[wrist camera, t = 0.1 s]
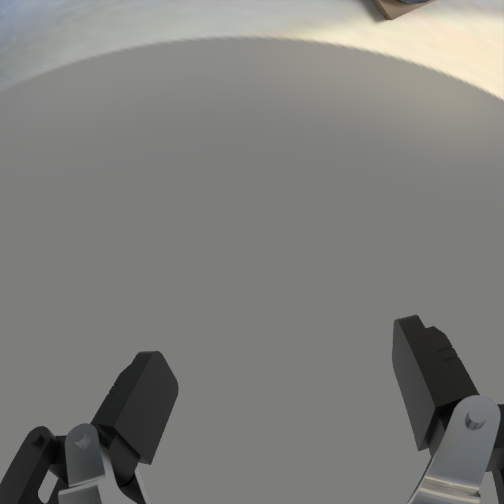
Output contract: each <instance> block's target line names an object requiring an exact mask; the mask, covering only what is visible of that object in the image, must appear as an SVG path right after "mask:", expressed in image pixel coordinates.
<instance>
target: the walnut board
mask: <svg viewBox="0 0 504 504" xmlns="http://www.w3.org/2000/svg"><path fill="white" fill-rule="evenodd" d="M373 1H374V3H375V4H376V5H377V7H378V8H379V9H380V11H381V12H382V14H383V15H384V16H385V18H386V19H387V20H393V19H395V18H397V17H399V16H402V15H404V14H406V13H408V12H410V11H412V10H415V9H417V8H419V7H421V6H424V5H426V4H428V3H431V2H433V1H436V0H430V1H428V2H425V3H420V4H407V3H402V2H399V1H396V0H373Z"/></svg>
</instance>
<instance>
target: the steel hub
mask: <svg viewBox="0 0 504 504" xmlns="http://www.w3.org/2000/svg"><path fill="white" fill-rule="evenodd" d="M396 1H399V2H402V3H407V4H420V3H425V2H428V1H430V0H396Z"/></svg>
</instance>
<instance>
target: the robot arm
mask: <svg viewBox="0 0 504 504" xmlns="http://www.w3.org/2000/svg"><path fill="white" fill-rule="evenodd" d="M392 362H393V368H394V372H395V375H396V378H397V381H398V384H399V387H400V390H401V393H402V396H403V399H404V402H405V406H406V409H407V412H408V415H409V419H410V423H411V426H412V430H413V433H414V437H415V441H416V444H417V448H418V451H421V450H424V449H427V448H429V451H430V455H431V458H430V460H429V462H428V464H427V467H426V468H425V470H424V472H423V474H422V476H421V478H420V480H419V482H418V484H417V485H416V487H415V489H414V490H413V492H412V494H411V496H410V497H409V499H408V501H407V502H406V504H479V502H480V494H479V487H480V484H481V482H482V479H483V476H484V474H485V472H489V471H492V473H493V478H494V481H495V486H496V491H497V496H498V501H499V504H504V404H502V405H499V404H496V403H495V402H494V401H493V400H492V399H490V398H488V397H486V396H482V395H480V394H479V393H478V392H477V390H476V388H475V386H474V384H473V382H472V380H471V378H470V376H469V374H468V373H467V371H466V369H465V367H464V365H463V364H462V362H461V360H460V358H458V356H457V353H456V351H455V350H454V348H452V345H451V343H450V341H449V340H448V338H447V336H446V335H445V334H444V333H443V332H441V331H440V330H438V329H437V328H435V327H434V326H433V327H429V328H425V327H424V325H423V323H422V322H421V320H420V318H419V316H417V315H413V316H409V317H405V318H401V319H396V320H395V321H394V331H393V350H392ZM177 395H178V383H177V380H176V378H175V376H174V375H173V373H172V371H171V369H170V368H169V366H168V364H167V362H166V360H165V359H164V357H163V355H162V354H161V353H160V352H159V351H148V352H146V351H145V352H139V353H138V354H137V355H136V357H135V359H134V360H133V362H132V364H131V365H129V366H128V367H127V368H126V369H125V370H124V371H123V372H121V374H120V375H119V376H118V378H117V380H116V381H115V383H114V386H112V388H111V390H110V391H109V394H108V395H107V396H106V398H105V400H104V401H103V403H102V405H101V406H100V408H99V410H98V411H97V413H96V415H95V417H94V418H93V420H92V422H91V423H90V424H87V423H85V424H80V425H78V426H76V427H74V428H73V429H72V430H71V431H70V432H69V433H68V435H66V436H54V435H53V434H52V433H51V431H50V430H49V429H48V428H46V427H44V426H40V427H37V428H35V429H33V430H32V431H31V432H30V433H29V434H28V435H27V437H26V439H25V440H24V442H23V444H22V445H21V447H20V449H19V451H18V452H17V454H16V456H15V458H14V459H13V461H12V463H11V465H10V467H9V468H8V470H7V472H6V474H5V476H4V478H3V480H2V482H1V484H0V504H44V503H43V502H41V500H40V499H39V497H38V490H39V488H40V486H41V484H42V482H43V480H44V477H45V475H46V473H47V471H48V470H49V471H50V472H52V473H53V474H54V475H55V476H57V477H58V481H57V483H56V485H55V488H54V490H53V492H52V494H51V496H50V499H49V501H48V502H47V503H46V504H152V503H151V501H150V498H149V496H148V493H147V491H146V488H145V486H144V483H143V480H142V477H141V474H140V472H139V470H138V469H137V468H136V467H137V464H138V462H139V463H144V464H150V465H151V463H152V460H153V457H154V455H155V452H156V449H157V447H158V444H159V442H160V439H161V437H162V434H163V432H164V429H165V426H166V424H167V421H168V419H169V416H170V413H171V411H172V408H173V406H174V403H175V401H176V398H177Z"/></svg>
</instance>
